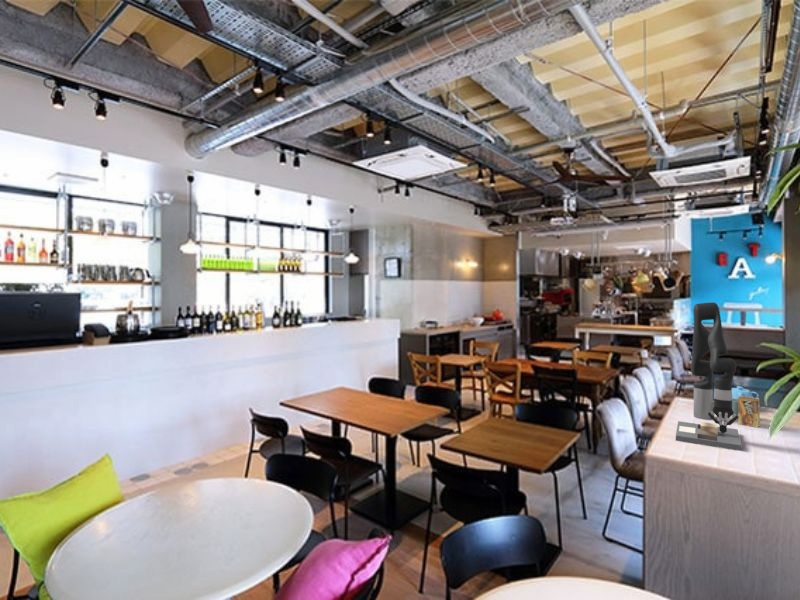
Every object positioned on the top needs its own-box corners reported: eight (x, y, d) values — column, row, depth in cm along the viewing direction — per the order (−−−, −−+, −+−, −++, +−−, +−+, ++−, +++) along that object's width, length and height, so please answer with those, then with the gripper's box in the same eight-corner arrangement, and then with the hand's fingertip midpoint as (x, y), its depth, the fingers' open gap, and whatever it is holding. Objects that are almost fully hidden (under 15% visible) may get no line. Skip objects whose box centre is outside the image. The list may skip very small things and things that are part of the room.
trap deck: (737, 434, 227) (737, 429, 227) (741, 450, 204) (741, 445, 204) (678, 425, 242) (678, 421, 242) (675, 440, 219) (675, 435, 219)
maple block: (717, 431, 223) (717, 424, 223) (717, 435, 218) (717, 427, 217) (700, 429, 227) (700, 421, 227) (700, 433, 222) (700, 425, 221)
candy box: (759, 426, 240) (759, 398, 239) (758, 427, 237) (758, 399, 236) (739, 422, 246) (739, 395, 246) (737, 424, 243) (738, 396, 243)
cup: (731, 418, 254) (731, 401, 254) (728, 414, 261) (728, 398, 261) (748, 419, 251) (748, 402, 251) (745, 416, 258) (745, 399, 258)
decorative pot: (763, 411, 268) (763, 389, 267) (738, 412, 267) (738, 389, 266) (741, 404, 284) (741, 383, 284) (717, 405, 283) (717, 384, 283)
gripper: (739, 398, 218) (739, 432, 219) (706, 394, 226) (706, 428, 226) (740, 401, 212) (740, 436, 212) (707, 397, 219) (707, 432, 220)
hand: (723, 432), depth 219 cm, fingers closed
